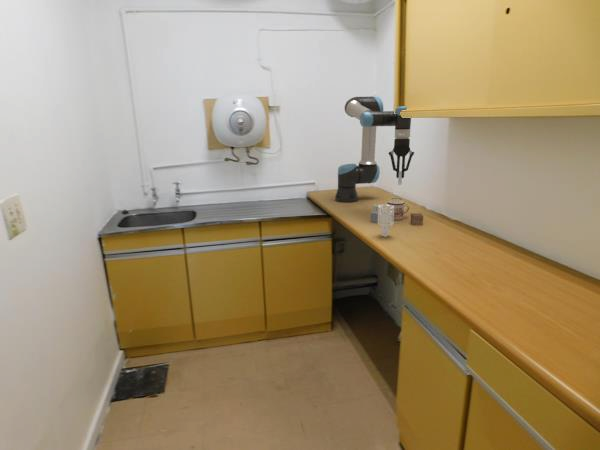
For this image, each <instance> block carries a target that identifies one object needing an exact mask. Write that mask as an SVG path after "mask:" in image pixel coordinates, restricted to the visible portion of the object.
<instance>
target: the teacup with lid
mask: <svg viewBox="0 0 600 450" xmlns="http://www.w3.org/2000/svg"><path fill="white" fill-rule="evenodd" d="M386 203H387V204H386V205H392V206H394V220H393V221H395V220H396V221H398V220H399V221H400V220H401V221H402V220H403V219H404V215H405V214H407V213H408V212H410V205H408V204H405V203H406V202H405V201H404V200H403V199H400V198H399V197H398V196H394V197H393V198H391V199H389V200H387V202H386ZM405 207H407V209H406V211H405ZM391 211H392V210H391Z"/></svg>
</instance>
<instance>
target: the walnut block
mask: <svg viewBox="0 0 600 450" xmlns="http://www.w3.org/2000/svg"><path fill="white" fill-rule="evenodd" d="M409 223H410V224H411V225H412V226H423V225H424V215H423V214H422V213H421V212H410V222H409Z"/></svg>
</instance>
